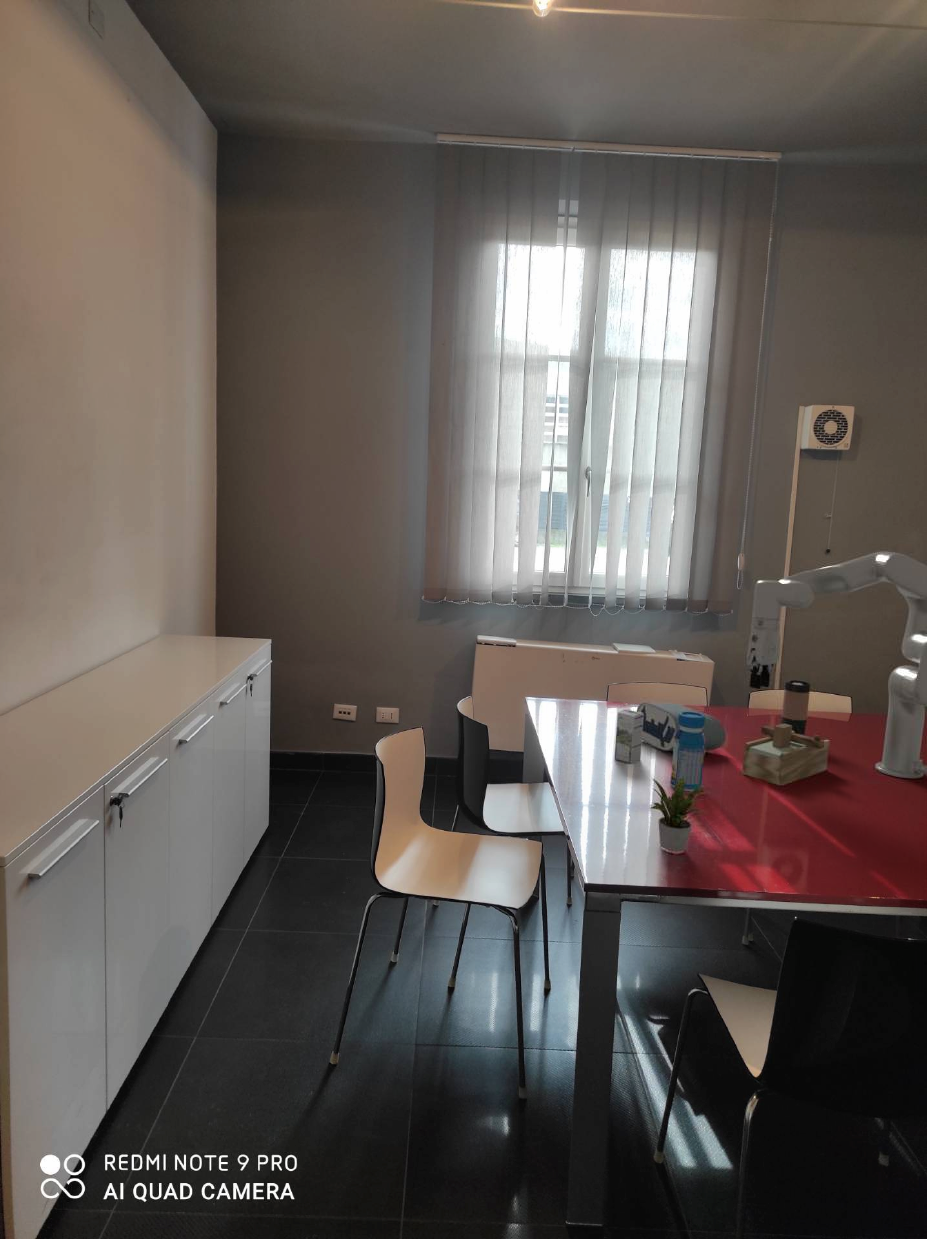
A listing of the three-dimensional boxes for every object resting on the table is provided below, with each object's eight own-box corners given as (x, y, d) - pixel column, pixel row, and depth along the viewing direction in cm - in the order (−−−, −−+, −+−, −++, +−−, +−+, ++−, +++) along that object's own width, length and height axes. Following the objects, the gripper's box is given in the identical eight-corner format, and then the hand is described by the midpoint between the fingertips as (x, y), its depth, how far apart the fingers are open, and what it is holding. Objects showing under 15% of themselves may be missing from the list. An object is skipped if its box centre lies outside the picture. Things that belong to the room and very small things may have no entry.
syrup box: (641, 760, 251) (644, 712, 249) (630, 764, 246) (634, 715, 244) (624, 755, 255) (628, 708, 252) (613, 759, 250) (617, 711, 248)
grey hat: (632, 737, 274) (637, 698, 273) (681, 736, 282) (686, 698, 280) (673, 758, 254) (678, 716, 253) (725, 756, 262) (730, 715, 260)
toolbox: (826, 770, 250) (829, 740, 249) (781, 785, 234) (784, 754, 233) (788, 759, 259) (791, 730, 258) (742, 773, 243) (745, 742, 242)
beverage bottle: (686, 794, 223) (692, 719, 221) (662, 784, 231) (669, 712, 228) (708, 789, 228) (715, 716, 225) (685, 780, 235) (691, 709, 232)
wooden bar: (823, 747, 241) (825, 736, 240) (819, 749, 239) (820, 737, 239) (765, 732, 254) (766, 721, 254) (761, 733, 253) (762, 722, 252)
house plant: (720, 866, 180) (727, 792, 177) (655, 866, 178) (662, 790, 176) (696, 839, 194) (703, 769, 191) (636, 838, 192) (642, 768, 190)
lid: (812, 749, 246) (814, 725, 245) (778, 759, 234) (781, 734, 233) (782, 741, 253) (785, 717, 252) (748, 751, 241) (751, 726, 240)
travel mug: (806, 747, 273) (812, 686, 270) (780, 745, 274) (787, 684, 272) (801, 741, 280) (808, 681, 278) (777, 738, 282) (783, 679, 279)
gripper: (761, 627, 234) (755, 693, 237) (793, 624, 245) (786, 686, 248) (737, 623, 240) (731, 687, 243) (769, 620, 251) (762, 681, 253)
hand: (759, 686), depth 245 cm, fingers open, 3 cm apart
